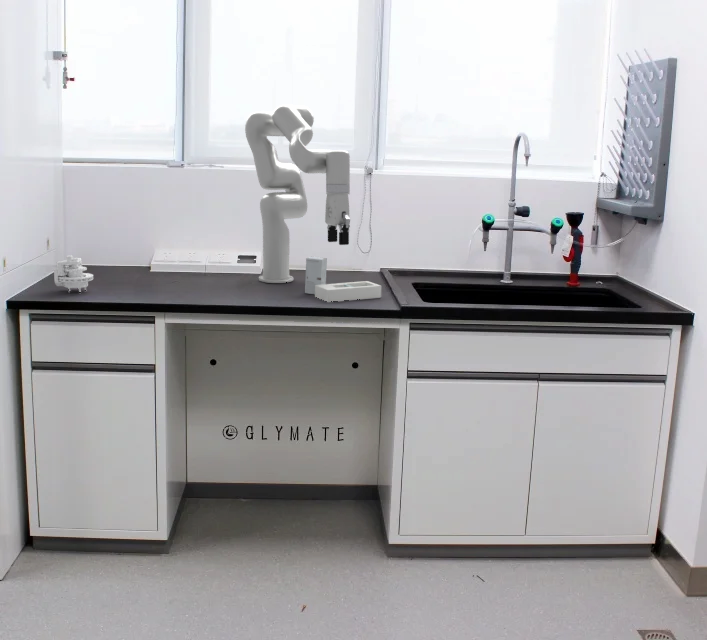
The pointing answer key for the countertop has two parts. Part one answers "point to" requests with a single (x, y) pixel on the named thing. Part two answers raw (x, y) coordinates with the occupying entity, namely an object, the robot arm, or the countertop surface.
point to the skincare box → (315, 273)
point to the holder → (348, 291)
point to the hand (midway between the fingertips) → (338, 243)
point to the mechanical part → (71, 274)
